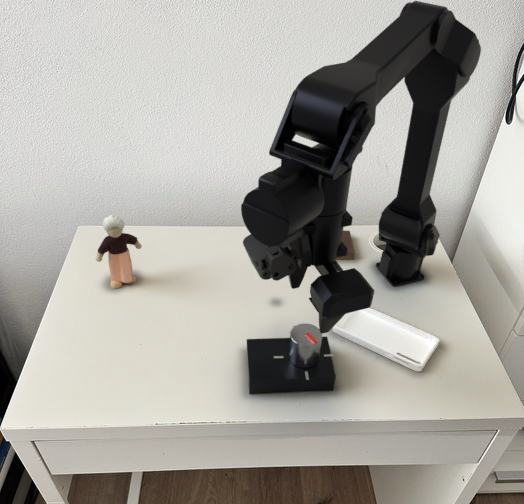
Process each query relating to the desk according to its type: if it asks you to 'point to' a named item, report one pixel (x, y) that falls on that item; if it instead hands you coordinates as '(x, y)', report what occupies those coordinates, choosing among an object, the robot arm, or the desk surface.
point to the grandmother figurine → (117, 251)
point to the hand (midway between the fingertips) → (309, 309)
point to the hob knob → (305, 345)
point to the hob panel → (286, 368)
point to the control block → (348, 243)
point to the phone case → (387, 337)
